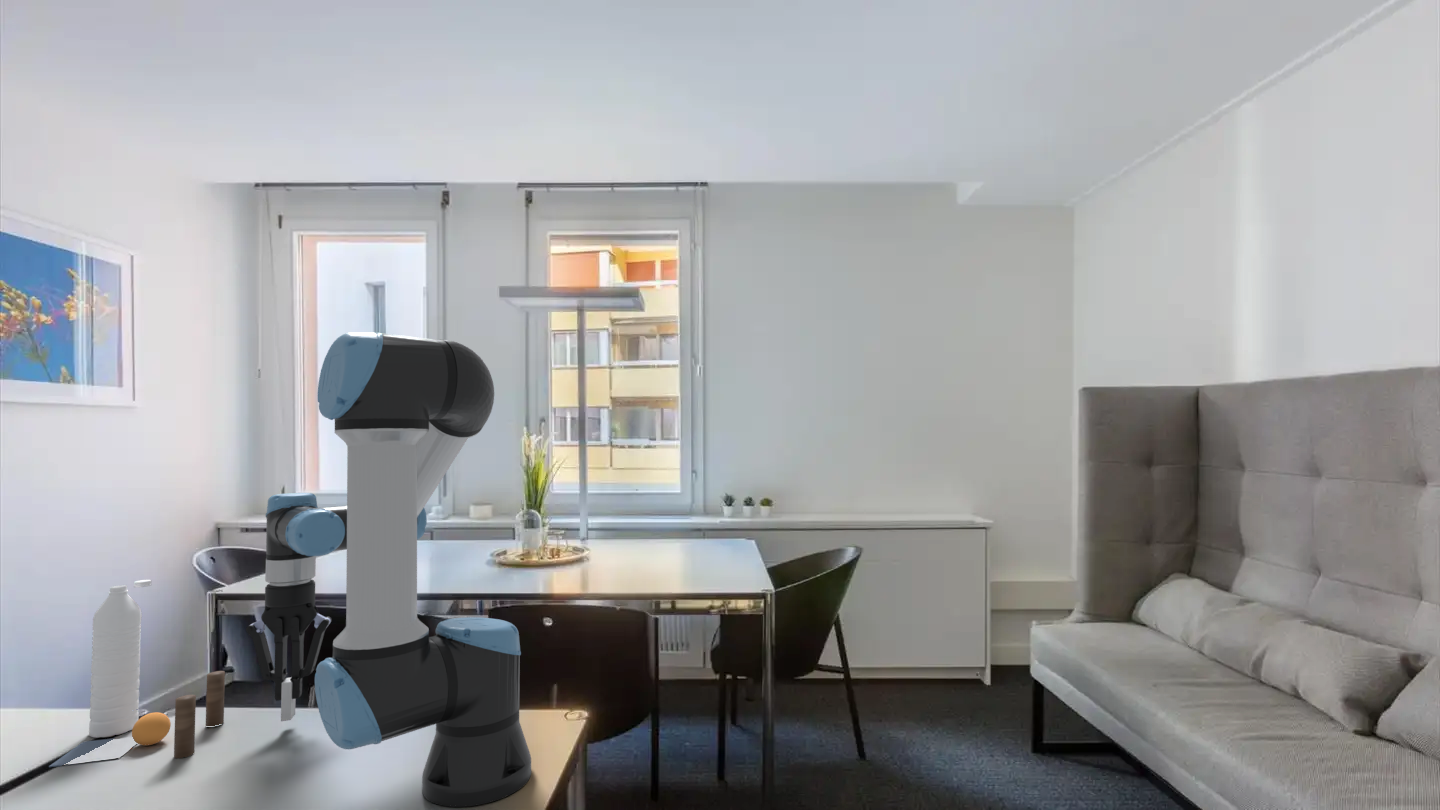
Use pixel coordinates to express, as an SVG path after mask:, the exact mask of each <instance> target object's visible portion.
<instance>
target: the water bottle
mask: <svg viewBox="0 0 1440 810" xmlns="http://www.w3.org/2000/svg"><path fill="white" fill-rule="evenodd" d="M150 586H152V579H141V580H140V579H139V580H135V581H134V582H133V588H145V587H150ZM128 592H129V589H128V586H127V584H126V585H124V584H123V585H115V586H114V585H113V586H110V587H109V591H108V592H107V594H108V596H107V598H106V599H105V600H104V601H103V602H102V604H100V606H99V607H98V608H97V610H96V612H94V614H93V618H92V641H91V642H92V647H91V651H92V652H91V666H90V667H91V668H90V673H91V675H90V686H91V687H90V693H91V694H90V700H89V705H90V709H89V726H88V729H89V730H88V735H89V737H91V738H94V739H98V738H109V737H113V736H115V735H116V736H118V735H121V734H126V733H127V732H128V731H132V729H133V727H134V725H135V723H136V722H137V721H138V720H139V719H140V718H139V717H140V713H139V709H140V707H139V706H140V700H139V697H140V690H139V688H140V683H141V681H140V673H141V668H140V665H141V641H142V640H141V635H142V634H141V633H142V631H141V628H142V625H141V624H142V617H143V616H142V615H143V613H142V609H141V607H140V605H139V604H138V603H137V602H136V601H135V600H134V599H133V597H131V596H130V595H129V593H128ZM136 709H138V710H136ZM132 710H134V711H132Z"/></svg>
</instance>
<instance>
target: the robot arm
mask: <svg viewBox="0 0 1440 810" xmlns="http://www.w3.org/2000/svg"><path fill="white" fill-rule="evenodd" d="M494 385H495V384H494V381H493V378H492V374H491V371H490V370H489V368H488V366H487V365H486V363H485V362H484V360H483V359H482V358H481V356H479V355H478V354H477V353H476V352H475V351H474V350H472V349H471V348H469V347H468V346H466V345H464V344H461V343H459V342H456V341H454V340H447V339H433V338H425V337H418V336H417V337H416V336H409V335H402V334H401V335H400V334H394V333H393V334H392V333H382V332H346V333H344V334H342V335H340V336H339V337H337V338H336V339H335V340H334V341H333V342H332V344H331V345H330V347H329V349H328V351H327V353H326V355H325V357H324V360H323V362H322V366H321V369H320V374H319V379H318V386H317V402H318V411H319V412H320V414H321V415H322V417H323V418H327V419H328V420H331V421H333V420H334V434H336V435H337V437H339V438H340V439H341V440H342V441H343V442H344V443H345V444H346V446H347V450H346V451H347V456H346V458H347V460H346V461H347V463H346V467H347V468H346V469H347V470H346V471H347V472H346V475H347V476H346V477H347V479H346V486H347V487H346V505H339V506H338V505H337V506H325V507H324V506H322V507H318V501H317V496H316V495H315V494H314V493H312V492H290V493H277V494H273V495H271V496H270V497H268V500H267V505H266V506H267V507H266V513H265V518H266V534H265V535H266V541H265V543H266V545H265V547H266V548H265V554H266V556H265V557H266V558H265V577H264V579H265V582H266V583H268V584H267V585H266V586H265V588H264V610H263V613H262V614H261V616H260V617H261V618H260V619H258V620H257V621H255V622H252V623H251V624H249V625H248V626H247V627H246V628H245V631H246V633H247V634H248V635H249V637H250V638H251V639H252V642H253V646H254V651H255V654H256V659H257V661H258V665H259V669H260V673H261V677H262V680H264V681H272V682H274V700H275V701H276V702H279V701H280V703H281V704H280V722H288V721H292V719H293V718H294V717H295V715H296V699H299V698H300V697H301V696H302V693H303V678H305V677H308V676H310V675H311V674H312V673H313V671H314V670H315V671H316V672H315V674H314V692H315V697H316V698H315V699H316V703H317V708H318V713H319V716H320V719H321V722H322V724H323V726H324V730H325V731H326V733H327V734H328V737H329V739H330V740H331V741H332V742H333V744H335V745H336V746H337V747H338V748H341V749H343V750H354V749H359V748H362V747H366V746H369V745H379V744H381V743H382V742H384V741H387V740H390V739H394V738H396V737H400V736H403V735H406V734H409V733H412V732H416V731H419V730H422V729H424V728H428V727H430V726H434V725H435V734H434V737H433V738H434V739H433V740H432V743H431V747H430V748H429V749H430V750H429V753H428V757H427V758H426V762H425V766H424V768H423V771H422V775H421V776H422V778H421V780H422V781H421V783H422V784H421V791H422V793H421V794H422V795H423V797H424V798H425V799H426V800H427V801H429V802H430V803H433V804H436V805H439V806H444V807H452V808H454V807H457V808H463V807H465V808H466V807H474V806H479V805H484V804H488V803H492V802H496V801H499V800H501V799H503V798H506V797H508V796H510V795H512V794H514V793H515V792H517V791H519V790H520V789H521V788H522V787H524V786H525V785H526V784H527V783H528V782H529V780H530V778H531V776H532V757H531V752H530V749H529V746H528V744H527V740H526V737H525V735H524V731H523V727H522V724H521V722H520V675H521V674H520V673H521V672H520V671H521V670H520V663H521V662H520V656H521V655H522V651H521V645H520V635H519V634H520V633H519V630H518V628H517V626H515V624H513V623H512V622H509V621H507V620H503V619H498V618H491V617H489V618H488V617H475V616H474V617H470V616H469V617H454V618H447V619H444V620H443V621H440V622H439V623H438V624H437V625H436V628H435V634H436V635H433V636H430V630H429V627H428V626H427V625H426V624H425V623H423V622H422V621H421V620H420V619H419V618H418V540H420V539H421V538H422V537H423V536H424V535H425V532H426V527H427V524H428V523H427V522H428V521H427V520H428V519H427V511H426V508H425V506H426V505H427V503H428V502H429V500H430V499H431V497H432V495H433V494H434V492H435V490H436V489H437V488H438V486H439V484H440V483H441V481H442V480H443V478H444V476H445V475H446V474H447V472H448V470H449V469H450V467H451V466H452V464H453V463H454V461H455V459H456V457H457V456H458V454H459V453H460V451H461V450H462V449H463V447H464V445H465V443H466V442H467V441H468V439H469V438H473V437H474V436H476V435H478V434H479V433H480V432H481V431H482V429H483V428H484V427H485V425H486V423H487V422H488V419H489V418H490V415H491V413H492V410H493V406H494V402H495V387H494ZM344 550H346V586H345V587H346V595H345V596H346V599H345V600H346V605H345V606H346V607H345V608H346V609H345V610H346V611H345V612H346V613H345V615H346V617H345V618H346V619H345V626H344V628H343V630H342V631H341V632H340V633H339V634H338V635H337V636H336V637H335V638H334V639H333V641H332V657H326V658H325V659H324V660H322V661H320V662H319V663H318V664H317V661H318V658H319V655H320V650H321V646H322V643H323V639H324V636H325V632H326V630H327V628H328V627H329V625H330V624H331V622H332V621H333V620H332V617H330V616H324V615H322V614H320V613H319V609H318V607H317V606H316V581H315V580H313V578H315V577H316V570H317V569H316V557H323V556H326V555H328V554H330V553H332V552H337V551H344ZM313 621H314V626H313V627H314V628H315V631H314V633H313V636H312V640H311V643H310V646H309V647H310V648H309V650H308V654H307V658H306V661H305V664H304V649H305V648H304V647H305V646H304V644H305V643H304V641H305V631H306V630H307V629H308V628H309V626H310V625H311V624H312V623H313ZM266 627H267V628H268V629H269V631H270V632H271V633H272V635H274V636H273V637H274V641H273V642H274V661H273V658H272V654H271V651H270V647H269V644H268V639H267V635H266V632H265V630H266ZM289 636H290V641H291V674H290V675H291V677H287V676H288V671H287V665H288V663H287V661H288V658H287V657H288V638H289ZM273 662H274V663H273ZM316 664H317V666H316Z"/></svg>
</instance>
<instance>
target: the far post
mask: <svg viewBox="0 0 1440 810" xmlns="http://www.w3.org/2000/svg"><path fill="white" fill-rule="evenodd" d="M225 679H226V672H225V670H216V671H212V672H209V673H207V674H206V693H205V694H206V696H205V700H206V701H205V727H206V726H215V725H219V724H222V723H224V721H225V684H226V683H225V681H226V680H225Z"/></svg>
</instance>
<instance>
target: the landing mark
mask: <svg viewBox="0 0 1440 810" xmlns="http://www.w3.org/2000/svg"><path fill="white" fill-rule="evenodd" d="M115 738H116V737H115ZM115 738H107V739H106V738H105V739H96V740H87V741H82V742H81V743H79V744H78V745H77V746H75V747H74V748H72V749H71V750H69V751H68V752H67V753H65V754H64V755H62V756H60V758H59V759H58V758H57V760H55V761H54V762H53V763H51V764H50V765H48V768H55V767H63V766H62V765H64V764H66V763H68V762H70V761H71V760H73V759H75V758H77V757H80V756H81V755H85V754H86V753H89V752H90V751H92V750H94V749H95V748H98V747H100V746H102V745H104V744H106V743H107V742H109V741H111V740H113V739H115Z"/></svg>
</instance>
